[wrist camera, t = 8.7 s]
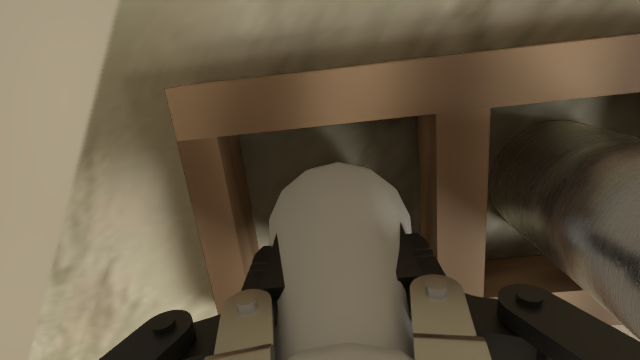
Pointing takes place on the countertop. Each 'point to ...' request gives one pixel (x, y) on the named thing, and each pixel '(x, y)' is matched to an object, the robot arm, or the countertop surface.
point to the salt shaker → (341, 267)
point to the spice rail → (433, 145)
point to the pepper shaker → (578, 207)
